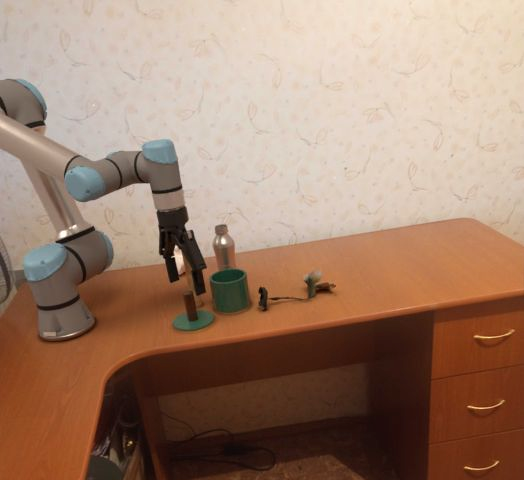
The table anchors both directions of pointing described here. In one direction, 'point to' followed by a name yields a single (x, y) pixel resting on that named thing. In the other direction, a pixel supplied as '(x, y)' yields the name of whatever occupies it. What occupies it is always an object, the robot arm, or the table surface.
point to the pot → (230, 290)
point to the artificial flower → (308, 279)
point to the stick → (190, 280)
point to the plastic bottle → (224, 248)
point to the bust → (179, 260)
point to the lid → (192, 315)
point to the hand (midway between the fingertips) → (187, 287)
